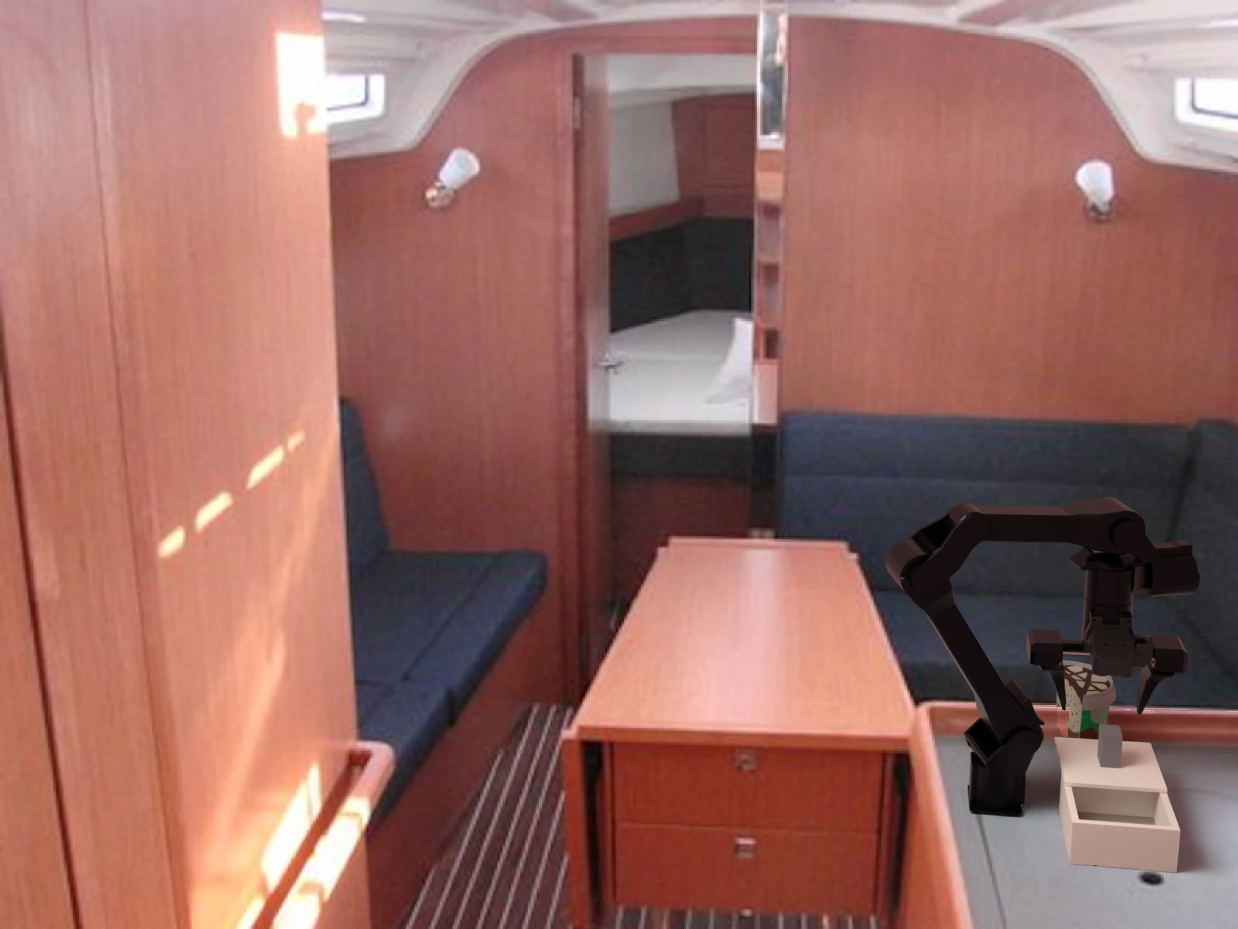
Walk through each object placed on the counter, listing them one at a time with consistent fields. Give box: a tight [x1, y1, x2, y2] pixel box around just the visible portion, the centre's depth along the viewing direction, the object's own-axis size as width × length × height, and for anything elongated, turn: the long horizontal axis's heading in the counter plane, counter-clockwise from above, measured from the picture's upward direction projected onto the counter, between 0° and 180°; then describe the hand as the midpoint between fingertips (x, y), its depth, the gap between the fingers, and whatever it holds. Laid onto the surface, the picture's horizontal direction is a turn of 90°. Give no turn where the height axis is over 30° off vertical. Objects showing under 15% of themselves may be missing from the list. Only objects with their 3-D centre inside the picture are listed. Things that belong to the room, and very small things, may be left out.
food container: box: [1056, 659, 1117, 740], centre depth 184 cm, size 12×6×10 cm, turn 179°
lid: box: [1054, 724, 1168, 794], centre depth 166 cm, size 12×12×5 cm
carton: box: [1058, 772, 1181, 873], centre depth 160 cm, size 12×12×6 cm
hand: (1100, 711), depth 168 cm, fingers open, 9 cm apart
